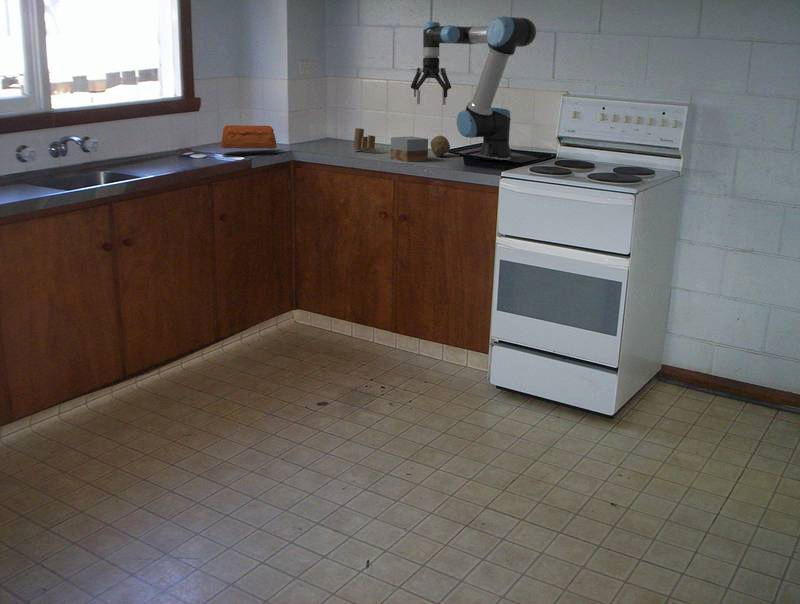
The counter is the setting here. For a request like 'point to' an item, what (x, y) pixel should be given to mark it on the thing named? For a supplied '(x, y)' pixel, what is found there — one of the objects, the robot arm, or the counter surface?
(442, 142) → the natural sponge
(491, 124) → the robot arm
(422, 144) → the tower top slab
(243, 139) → the bread
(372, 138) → the wooden block set
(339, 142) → the counter surface
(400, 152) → the tower base slab
